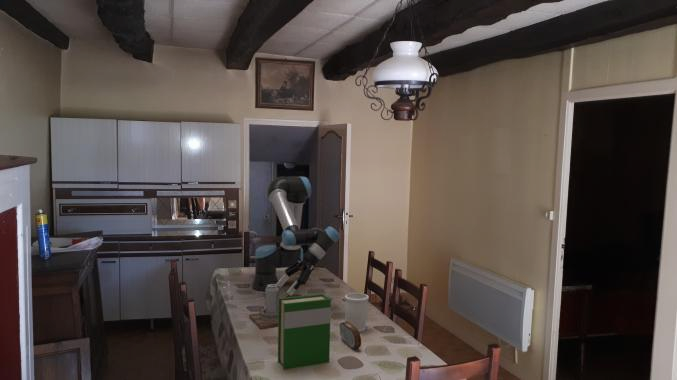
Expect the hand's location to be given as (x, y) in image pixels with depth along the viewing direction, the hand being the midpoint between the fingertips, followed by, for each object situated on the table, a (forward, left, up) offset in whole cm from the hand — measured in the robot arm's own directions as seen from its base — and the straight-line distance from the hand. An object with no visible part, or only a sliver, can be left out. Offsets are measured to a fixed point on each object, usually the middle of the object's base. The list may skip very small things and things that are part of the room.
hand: (283, 289), depth 230 cm
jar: (+25, +25, -14) cm, 38 cm away
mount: (0, -5, -14) cm, 15 cm away
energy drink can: (0, -5, -13) cm, 14 cm away
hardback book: (+46, -10, -14) cm, 49 cm away
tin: (+39, +14, -14) cm, 43 cm away
